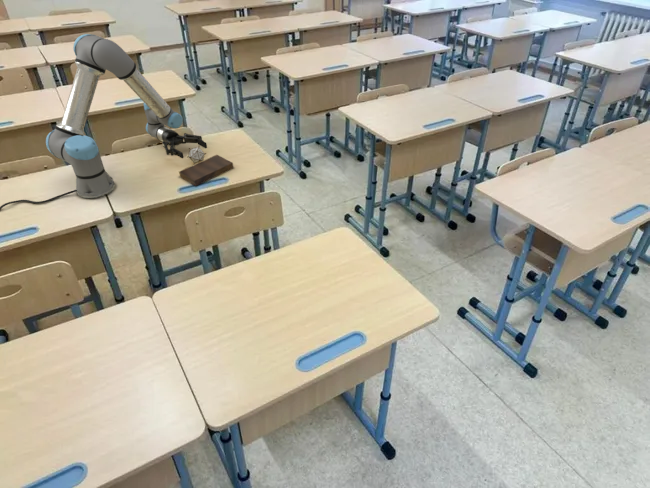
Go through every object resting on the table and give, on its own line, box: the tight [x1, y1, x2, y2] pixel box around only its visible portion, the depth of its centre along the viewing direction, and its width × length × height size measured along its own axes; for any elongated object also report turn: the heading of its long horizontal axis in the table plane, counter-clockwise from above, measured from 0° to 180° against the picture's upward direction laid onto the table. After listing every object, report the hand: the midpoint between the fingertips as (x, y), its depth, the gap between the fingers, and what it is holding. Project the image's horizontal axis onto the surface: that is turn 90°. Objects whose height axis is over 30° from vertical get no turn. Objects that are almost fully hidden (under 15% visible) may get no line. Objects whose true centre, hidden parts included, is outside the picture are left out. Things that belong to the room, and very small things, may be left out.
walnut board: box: [178, 154, 234, 187], centre depth 212 cm, size 22×12×3 cm, turn 139°
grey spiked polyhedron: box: [186, 145, 207, 165], centre depth 217 cm, size 9×8×10 cm
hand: (194, 150), depth 214 cm, fingers open, 13 cm apart
